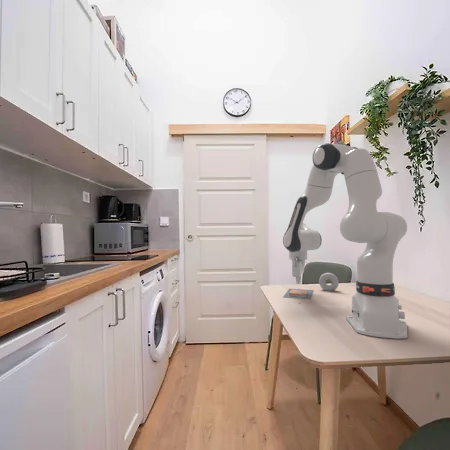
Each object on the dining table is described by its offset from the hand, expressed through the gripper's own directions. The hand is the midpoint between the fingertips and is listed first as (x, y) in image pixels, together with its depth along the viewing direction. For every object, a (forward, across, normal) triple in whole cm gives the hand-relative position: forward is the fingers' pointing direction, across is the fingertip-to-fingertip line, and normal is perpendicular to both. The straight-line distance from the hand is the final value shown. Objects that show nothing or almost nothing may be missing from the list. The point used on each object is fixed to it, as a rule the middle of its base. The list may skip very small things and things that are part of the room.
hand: (298, 283), depth 141 cm
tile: (+5, +3, 0) cm, 6 cm away
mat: (+6, +2, 0) cm, 6 cm away
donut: (+6, +15, -14) cm, 21 cm away
